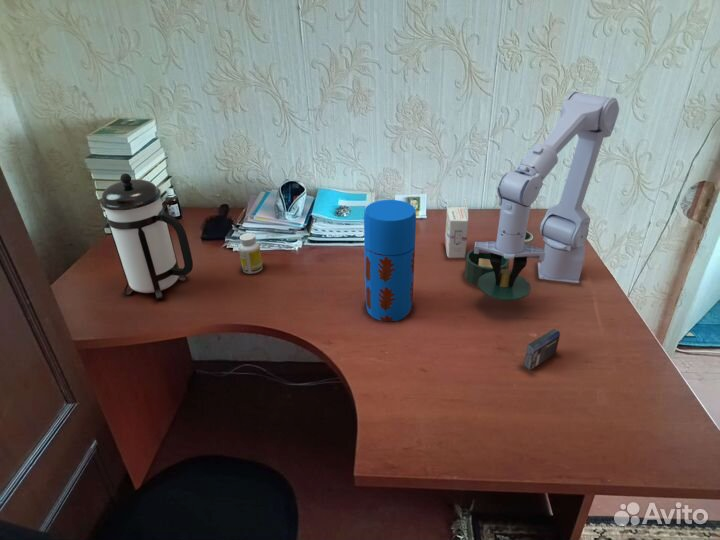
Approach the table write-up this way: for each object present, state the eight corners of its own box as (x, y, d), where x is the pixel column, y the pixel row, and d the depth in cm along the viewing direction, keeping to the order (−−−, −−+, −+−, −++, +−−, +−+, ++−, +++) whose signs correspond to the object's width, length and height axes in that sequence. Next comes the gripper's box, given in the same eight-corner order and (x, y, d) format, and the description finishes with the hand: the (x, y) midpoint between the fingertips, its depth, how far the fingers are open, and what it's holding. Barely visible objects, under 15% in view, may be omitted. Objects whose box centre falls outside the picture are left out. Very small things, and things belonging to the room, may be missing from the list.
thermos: (409, 324, 110) (413, 223, 97) (361, 319, 112) (359, 219, 99) (414, 297, 119) (418, 200, 106) (370, 292, 121) (369, 197, 108)
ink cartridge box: (443, 244, 141) (447, 196, 133) (461, 244, 141) (465, 196, 133) (447, 259, 134) (450, 209, 126) (465, 259, 133) (470, 209, 126)
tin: (506, 270, 128) (509, 250, 125) (505, 292, 120) (509, 271, 117) (465, 265, 131) (467, 245, 128) (462, 286, 122) (464, 266, 119)
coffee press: (125, 311, 116) (85, 192, 101) (125, 278, 129) (89, 168, 113) (200, 294, 122) (173, 179, 106) (193, 264, 134) (168, 157, 119)
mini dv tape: (529, 372, 96) (534, 348, 93) (523, 368, 97) (527, 344, 94) (555, 355, 100) (560, 331, 97) (548, 351, 101) (554, 328, 98)
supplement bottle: (265, 264, 134) (260, 231, 129) (259, 274, 129) (254, 241, 124) (245, 263, 134) (240, 231, 129) (239, 274, 130) (233, 241, 125)
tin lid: (529, 278, 115) (532, 261, 112) (530, 306, 105) (533, 288, 103) (479, 272, 117) (480, 256, 115) (475, 299, 108) (477, 282, 106)
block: (493, 273, 126) (495, 259, 124) (492, 281, 123) (494, 268, 121) (477, 271, 127) (479, 258, 125) (476, 279, 124) (478, 266, 122)
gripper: (475, 234, 102) (469, 288, 109) (550, 241, 98) (538, 297, 106) (477, 219, 108) (472, 272, 115) (548, 225, 104) (537, 279, 111)
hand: (504, 283), depth 111 cm, fingers closed on tin lid, 2 cm apart
